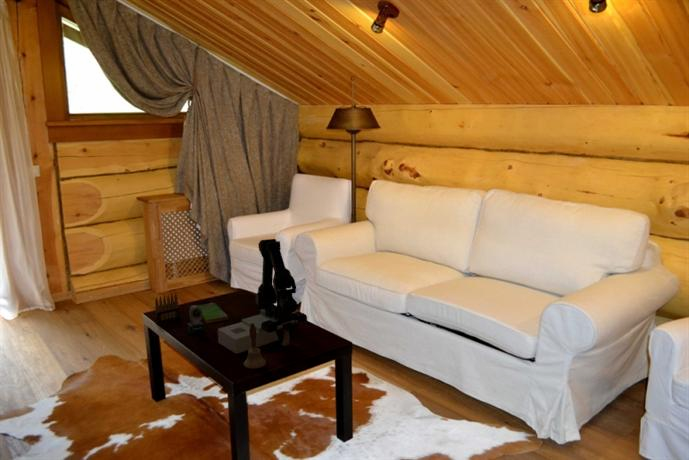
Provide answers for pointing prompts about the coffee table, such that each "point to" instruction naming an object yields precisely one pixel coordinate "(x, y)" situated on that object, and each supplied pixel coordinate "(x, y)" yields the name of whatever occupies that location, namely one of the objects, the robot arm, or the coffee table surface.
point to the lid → (257, 320)
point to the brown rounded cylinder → (285, 338)
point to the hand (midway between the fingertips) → (285, 341)
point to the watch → (195, 320)
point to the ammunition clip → (166, 309)
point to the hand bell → (254, 352)
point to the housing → (243, 337)
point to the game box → (212, 313)
